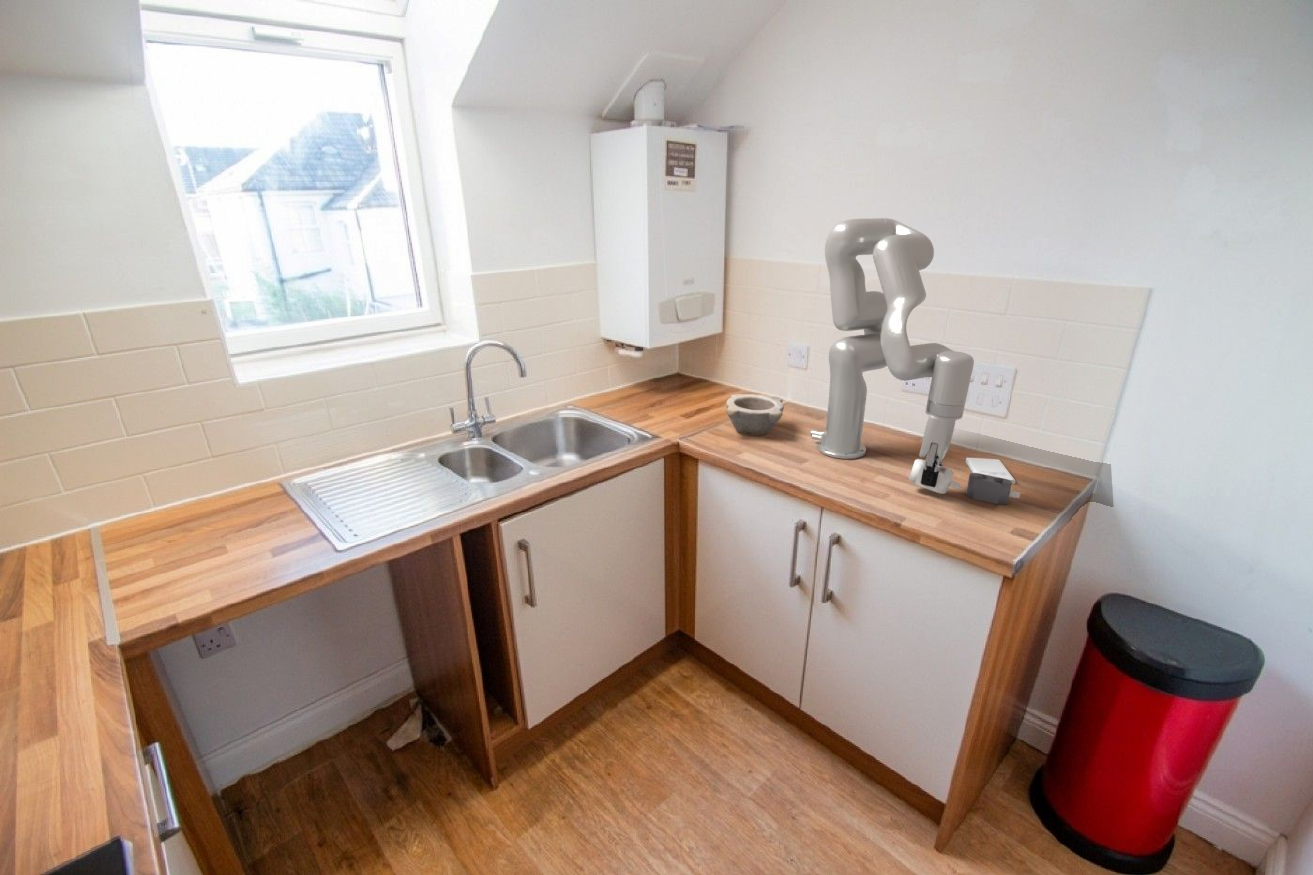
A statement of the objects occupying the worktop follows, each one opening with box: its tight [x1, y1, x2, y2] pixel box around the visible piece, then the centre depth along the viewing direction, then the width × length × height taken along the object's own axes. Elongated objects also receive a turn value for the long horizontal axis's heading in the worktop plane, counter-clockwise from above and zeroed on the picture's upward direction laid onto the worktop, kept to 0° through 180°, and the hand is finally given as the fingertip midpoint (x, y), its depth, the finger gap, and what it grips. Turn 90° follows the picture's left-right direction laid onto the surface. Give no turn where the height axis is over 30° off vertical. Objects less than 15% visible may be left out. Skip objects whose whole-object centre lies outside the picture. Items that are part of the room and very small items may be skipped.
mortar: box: [725, 393, 785, 437], centre depth 179 cm, size 17×17×9 cm
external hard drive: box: [965, 457, 1016, 485], centre depth 151 cm, size 2×8×12 cm
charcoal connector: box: [965, 472, 1021, 506], centre depth 137 cm, size 11×4×5 cm, turn 56°
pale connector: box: [908, 458, 961, 495], centre depth 139 cm, size 11×4×5 cm, turn 56°
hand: (930, 481), depth 140 cm, fingers closed on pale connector, 3 cm apart
